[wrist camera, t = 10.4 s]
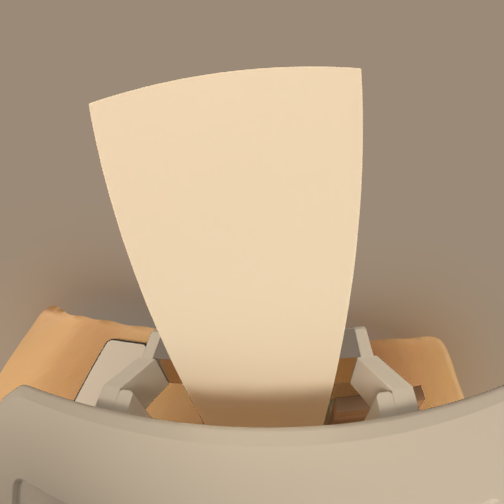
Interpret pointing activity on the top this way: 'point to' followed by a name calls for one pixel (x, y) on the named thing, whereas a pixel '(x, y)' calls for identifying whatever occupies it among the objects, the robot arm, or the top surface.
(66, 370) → the top surface
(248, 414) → the cream rectangular board
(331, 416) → the block
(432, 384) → the top surface
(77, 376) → the top surface
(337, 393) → the top surface
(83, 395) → the smartphone
